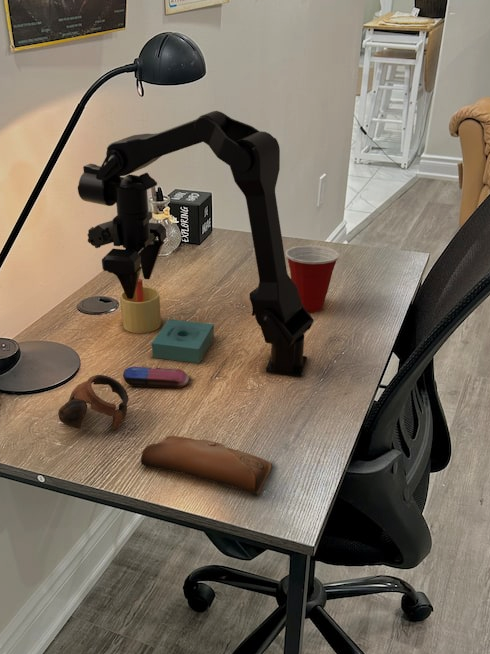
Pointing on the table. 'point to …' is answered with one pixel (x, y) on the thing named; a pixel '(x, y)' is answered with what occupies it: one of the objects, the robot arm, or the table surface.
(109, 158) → the robot arm
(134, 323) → the tumbler
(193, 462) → the sunglasses case
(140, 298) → the red rod
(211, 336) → the block
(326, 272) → the plastic cup
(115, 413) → the brown curved ring piece
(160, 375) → the eraser
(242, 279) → the table surface
